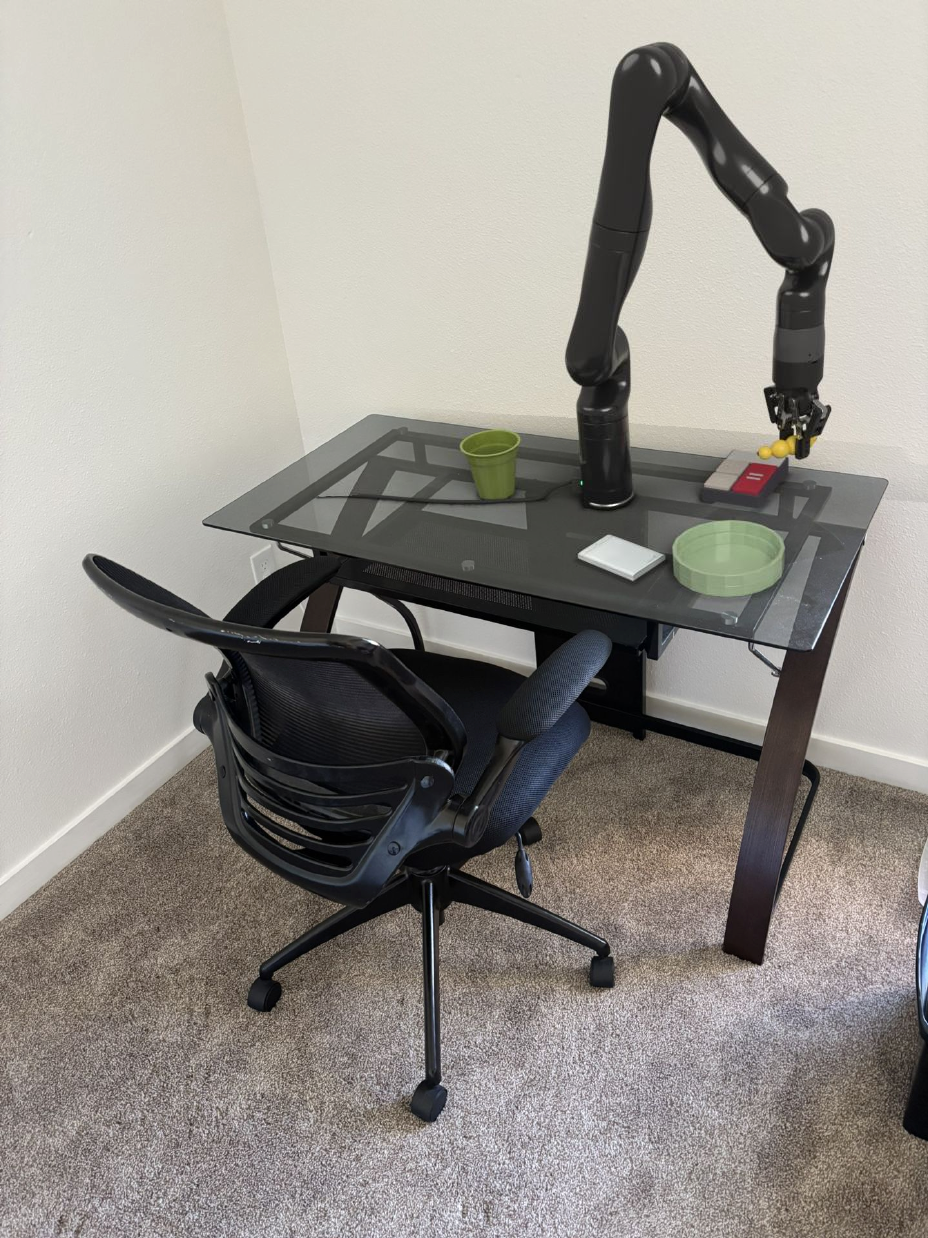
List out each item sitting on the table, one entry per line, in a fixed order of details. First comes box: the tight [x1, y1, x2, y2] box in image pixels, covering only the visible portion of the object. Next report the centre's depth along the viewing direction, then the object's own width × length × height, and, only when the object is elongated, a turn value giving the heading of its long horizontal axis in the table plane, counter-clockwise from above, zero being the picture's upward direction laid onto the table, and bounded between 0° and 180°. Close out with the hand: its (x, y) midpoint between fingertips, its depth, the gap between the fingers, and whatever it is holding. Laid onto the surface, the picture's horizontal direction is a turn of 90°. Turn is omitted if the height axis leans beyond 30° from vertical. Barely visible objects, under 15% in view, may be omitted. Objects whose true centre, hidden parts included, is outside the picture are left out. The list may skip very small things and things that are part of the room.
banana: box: [756, 434, 818, 460], centre depth 153 cm, size 12×4×3 cm, turn 113°
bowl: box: [671, 519, 786, 598], centre depth 152 cm, size 17×17×4 cm
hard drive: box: [577, 534, 666, 582], centre depth 160 cm, size 2×8×12 cm
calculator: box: [700, 449, 790, 509], centre depth 174 cm, size 11×4×15 cm
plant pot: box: [459, 429, 522, 500], centre depth 185 cm, size 12×12×11 cm
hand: (794, 453), depth 154 cm, fingers closed on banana, 3 cm apart
